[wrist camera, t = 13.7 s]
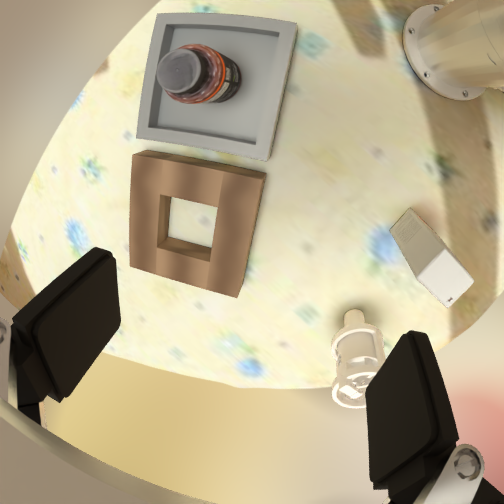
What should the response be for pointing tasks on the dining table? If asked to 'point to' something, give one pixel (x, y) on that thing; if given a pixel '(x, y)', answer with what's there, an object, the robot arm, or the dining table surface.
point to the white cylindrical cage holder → (355, 358)
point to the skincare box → (430, 259)
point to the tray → (237, 107)
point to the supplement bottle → (198, 75)
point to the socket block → (201, 191)
